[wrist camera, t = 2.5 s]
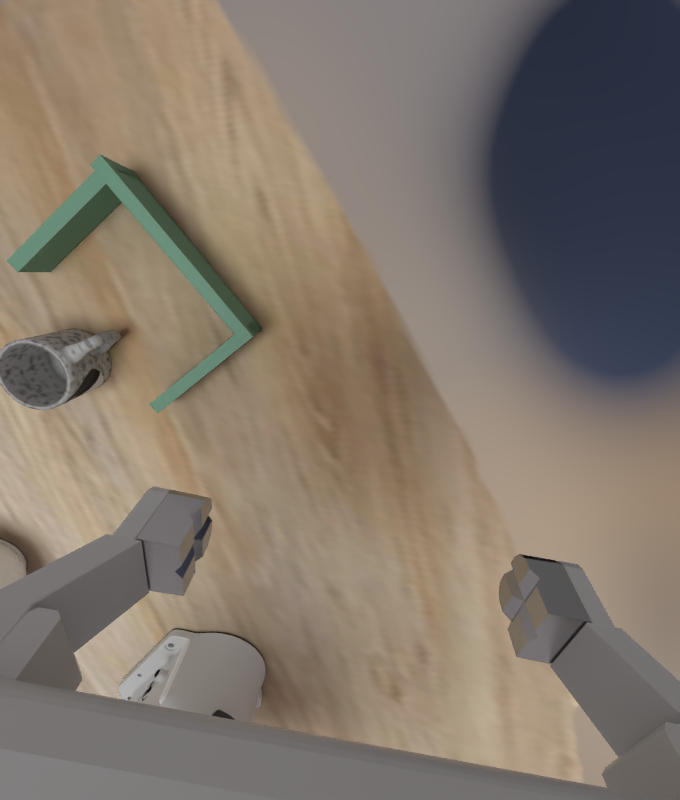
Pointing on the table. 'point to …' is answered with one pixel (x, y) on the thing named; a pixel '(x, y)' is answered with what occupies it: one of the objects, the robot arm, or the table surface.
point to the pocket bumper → (124, 186)
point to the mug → (55, 366)
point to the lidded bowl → (11, 564)
